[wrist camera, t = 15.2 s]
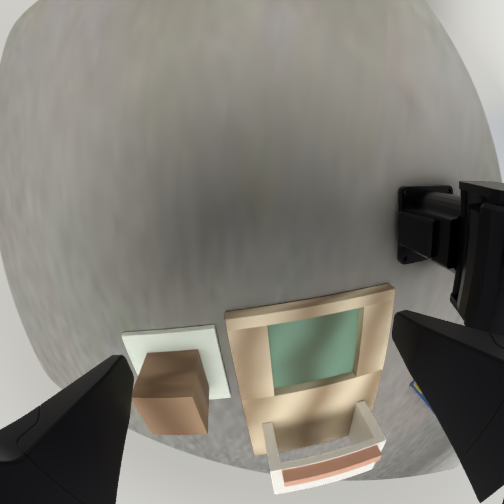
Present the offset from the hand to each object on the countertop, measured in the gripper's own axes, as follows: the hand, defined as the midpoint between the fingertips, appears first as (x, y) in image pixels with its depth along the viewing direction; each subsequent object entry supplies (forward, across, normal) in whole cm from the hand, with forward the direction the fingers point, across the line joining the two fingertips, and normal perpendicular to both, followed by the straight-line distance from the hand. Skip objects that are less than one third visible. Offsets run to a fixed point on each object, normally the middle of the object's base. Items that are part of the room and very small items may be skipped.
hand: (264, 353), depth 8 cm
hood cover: (+11, -5, +22) cm, 24 cm away
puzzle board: (+12, -5, +15) cm, 20 cm away
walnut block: (+11, +7, +10) cm, 17 cm away
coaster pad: (+12, +7, +10) cm, 17 cm away
